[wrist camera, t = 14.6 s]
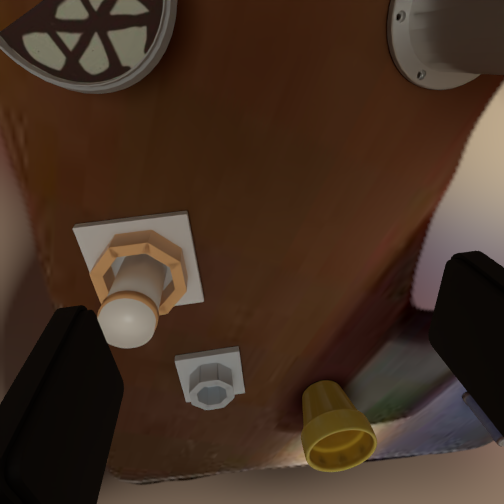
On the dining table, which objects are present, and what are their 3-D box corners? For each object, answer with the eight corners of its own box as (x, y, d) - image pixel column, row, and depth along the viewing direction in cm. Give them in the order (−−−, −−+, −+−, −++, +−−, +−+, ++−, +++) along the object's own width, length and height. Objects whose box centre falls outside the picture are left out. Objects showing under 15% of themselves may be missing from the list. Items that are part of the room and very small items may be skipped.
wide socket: (187, 210, 37) (185, 225, 34) (203, 296, 43) (203, 317, 40) (75, 224, 36) (62, 241, 33) (108, 310, 42) (100, 332, 39)
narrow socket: (238, 346, 48) (241, 368, 45) (244, 387, 53) (247, 410, 49) (175, 355, 48) (173, 378, 44) (186, 396, 52) (185, 420, 49)
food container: (97, 112, 31) (57, 132, 23) (47, 43, 28) (-22, 37, 20) (211, 38, 30) (214, 30, 21) (170, -43, 26) (154, -92, 18)
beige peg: (162, 245, 38) (147, 300, 29) (172, 284, 40) (161, 344, 32) (114, 251, 37) (85, 308, 29) (127, 290, 40) (104, 353, 31)
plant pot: (310, 365, 52) (330, 424, 44) (363, 378, 55) (392, 435, 47) (280, 407, 56) (293, 468, 48) (331, 417, 60) (352, 476, 51)
